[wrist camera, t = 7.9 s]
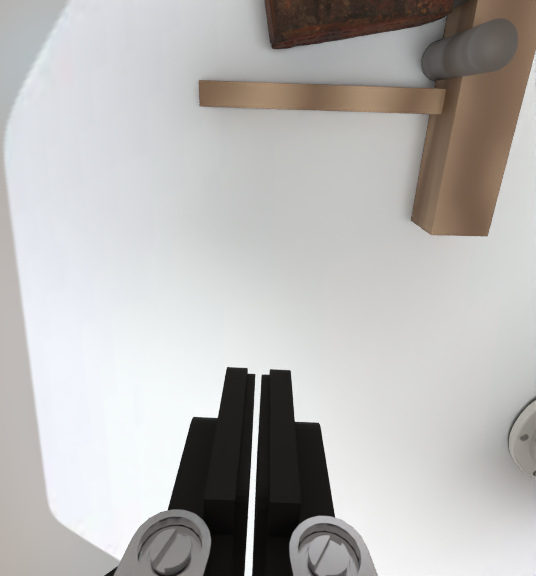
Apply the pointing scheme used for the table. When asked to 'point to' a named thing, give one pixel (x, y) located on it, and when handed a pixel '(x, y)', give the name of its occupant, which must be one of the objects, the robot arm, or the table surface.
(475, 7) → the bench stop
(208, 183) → the table surface
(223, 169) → the table surface
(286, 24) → the brick
